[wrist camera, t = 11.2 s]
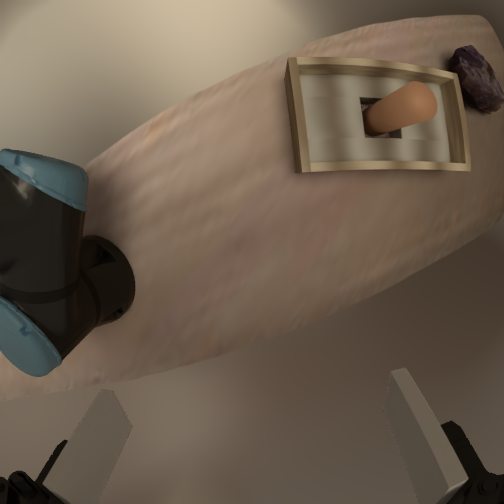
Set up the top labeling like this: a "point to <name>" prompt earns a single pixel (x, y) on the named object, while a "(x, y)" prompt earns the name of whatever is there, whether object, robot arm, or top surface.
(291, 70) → the box
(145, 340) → the top surface
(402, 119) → the peg
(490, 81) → the rock
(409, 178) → the top surface
